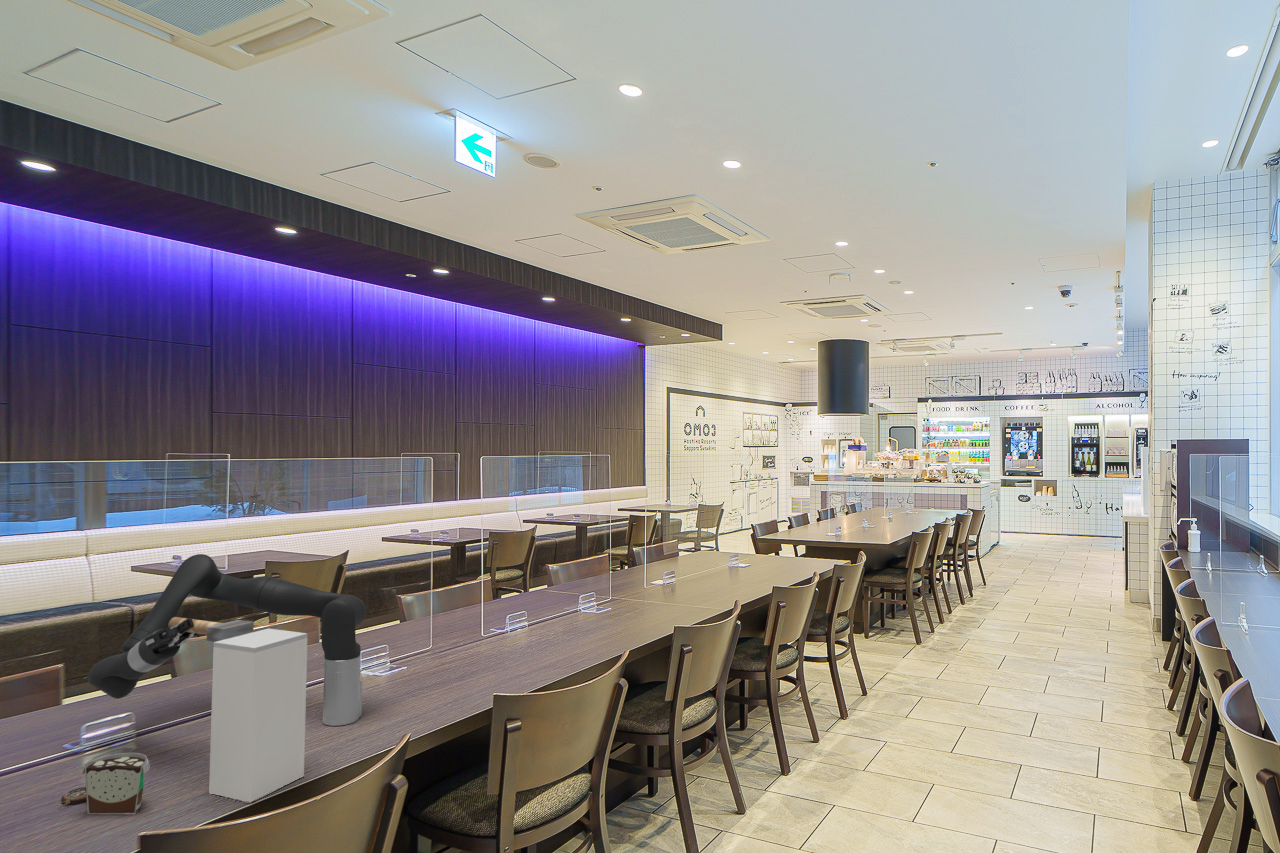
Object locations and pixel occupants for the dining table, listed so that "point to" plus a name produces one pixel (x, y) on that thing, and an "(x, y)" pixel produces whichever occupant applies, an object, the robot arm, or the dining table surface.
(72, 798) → the compass
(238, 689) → the stand
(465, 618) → the dining table surface
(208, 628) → the mallet
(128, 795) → the food container
